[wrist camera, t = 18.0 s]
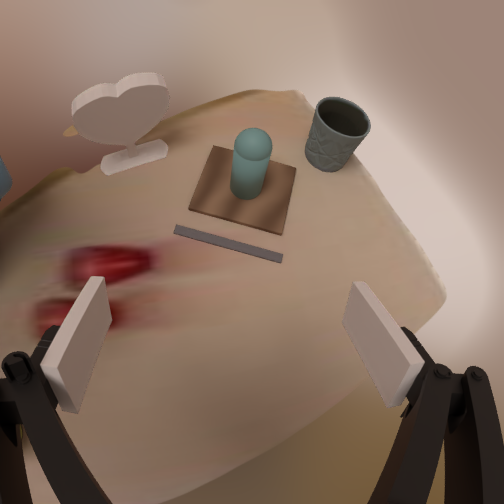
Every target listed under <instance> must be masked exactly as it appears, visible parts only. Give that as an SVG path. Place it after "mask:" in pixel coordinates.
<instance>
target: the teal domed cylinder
mask: <svg viewBox="0 0 504 504" xmlns="http://www.w3.org/2000/svg"><path fill="white" fill-rule="evenodd" d="M271 152H272V141H271V138H270V137H269V135H268V134H267V133H266V132H265V131H263V130H261V129H258V128H248V129H245V130H243V131H242V132H241V133H240V134H239V135H238V136H237V138H236V140H235V144H234V152H233V161H232V170H231V180H230V189H231V192H232V193H233V194H234V195H235V196H236V197H238V198H240V199H243V200H250V199H253V198H255V197H257V196H258V195H259V194H260V192H261V189H262V185H263V181H264V178H265V174H266V170H267V167H268V163H269V159H270V156H271Z"/></svg>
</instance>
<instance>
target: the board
mask: <svg viewBox="0 0 504 504" xmlns="http://www.w3.org/2000/svg"><path fill="white" fill-rule="evenodd" d="M233 152H234V150H230V149H226V148H222V147H218V146H214V145H213V148H212V150H211V152H210V155H209V157H208V160H207V162H206V165H205V167H204V169H203V172H202V174H201V177H200V179H199V182H198V184H197V187H196V189H195V192H194V195H193V197H192V200H191V202H190V205H189V208H188V209H189V210H190V211H194V212H198V213H201V214H205V215H209V216H212V217H216V218H220V219H223V220H227V221H231V222H234V223H238V224H241V225H245V226H248V227H252V228H256V229H259V230H263V231H266V232H270V233H273V234H277V235H280V236H281V234H282V231H283V226H284V222H285V217H286V213H287V208H288V204H289V199H290V195H291V190H292V185H293V181H294V176H295V171H296V168H294V167H291V166H288V165H284V164H281V163H278V162H274V161H271V160H269V163H268V167H267V170H266V174H265V178H264V181H263V185H262V189H261V192H260V194H259V195H258V196H257V197H255V198H253V199H250V200H243V199H240V198H238V197H236V196H235V195H234V194H233V193H232V192H231V189H230V180H231V170H232V161H233Z"/></svg>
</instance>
